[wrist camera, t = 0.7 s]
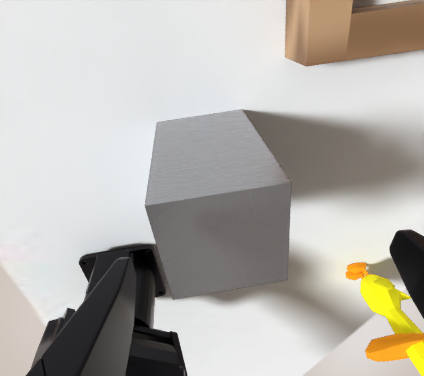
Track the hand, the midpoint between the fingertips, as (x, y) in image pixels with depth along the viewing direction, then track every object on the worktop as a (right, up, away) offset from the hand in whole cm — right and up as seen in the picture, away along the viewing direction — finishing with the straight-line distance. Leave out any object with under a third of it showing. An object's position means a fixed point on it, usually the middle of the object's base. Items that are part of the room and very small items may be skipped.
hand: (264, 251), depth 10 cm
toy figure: (+13, -6, +21) cm, 26 cm away
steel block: (-2, +5, +12) cm, 13 cm away
